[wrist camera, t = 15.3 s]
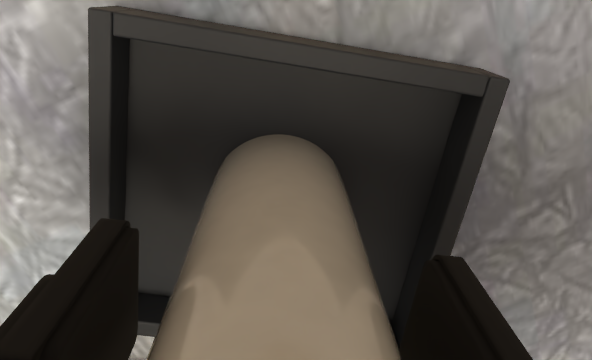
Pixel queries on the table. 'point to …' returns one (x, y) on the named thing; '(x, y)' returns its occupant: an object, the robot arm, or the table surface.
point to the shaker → (276, 266)
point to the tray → (279, 120)
